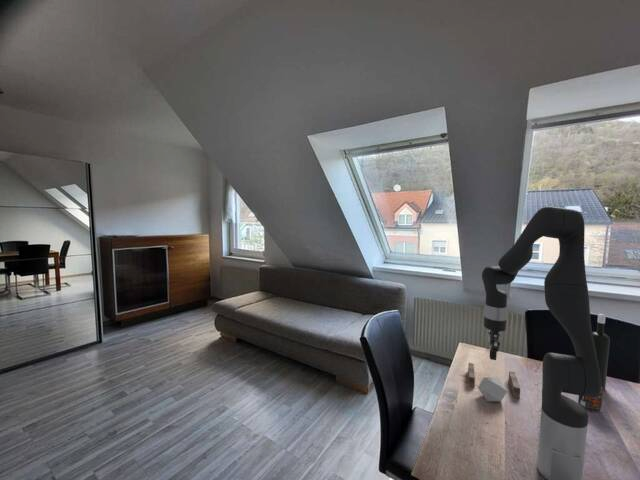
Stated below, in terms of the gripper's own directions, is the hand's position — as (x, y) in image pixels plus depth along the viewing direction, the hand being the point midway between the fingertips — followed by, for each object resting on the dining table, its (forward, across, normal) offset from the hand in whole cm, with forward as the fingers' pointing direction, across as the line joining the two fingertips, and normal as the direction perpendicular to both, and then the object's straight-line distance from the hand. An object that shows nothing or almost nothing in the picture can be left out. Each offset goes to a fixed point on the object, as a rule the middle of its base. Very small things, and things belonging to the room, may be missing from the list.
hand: (492, 358), depth 113 cm
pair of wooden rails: (+12, +3, 0) cm, 12 cm away
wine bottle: (+12, +18, -38) cm, 43 cm away
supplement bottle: (+12, +1, -30) cm, 33 cm away
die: (+12, -8, +1) cm, 15 cm away
